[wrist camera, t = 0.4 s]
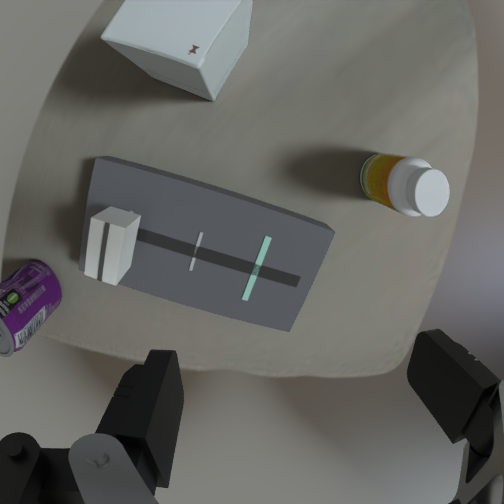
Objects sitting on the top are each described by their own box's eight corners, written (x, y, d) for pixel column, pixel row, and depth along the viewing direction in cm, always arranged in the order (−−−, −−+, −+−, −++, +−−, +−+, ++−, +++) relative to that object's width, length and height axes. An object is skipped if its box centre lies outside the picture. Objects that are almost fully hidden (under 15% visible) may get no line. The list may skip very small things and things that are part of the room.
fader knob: (117, 202, 25) (90, 217, 19) (145, 211, 25) (124, 228, 20) (108, 251, 26) (83, 275, 21) (135, 260, 27) (115, 286, 21)
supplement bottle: (359, 203, 30) (406, 228, 21) (357, 153, 28) (407, 159, 19) (400, 200, 30) (453, 223, 21) (399, 153, 28) (456, 161, 19)
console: (108, 155, 26) (95, 157, 23) (326, 223, 30) (335, 232, 27) (89, 259, 30) (78, 269, 27) (285, 317, 34) (289, 332, 31)
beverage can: (45, 250, 29) (-14, 294, 18) (73, 298, 32) (26, 355, 20) (17, 269, 30) (-36, 312, 19) (43, 312, 32) (-1, 364, 21)
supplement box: (249, 44, 23) (261, -18, 11) (213, 104, 25) (198, 72, 14) (185, 19, 22) (159, -46, 10) (149, 77, 24) (96, 39, 12)
